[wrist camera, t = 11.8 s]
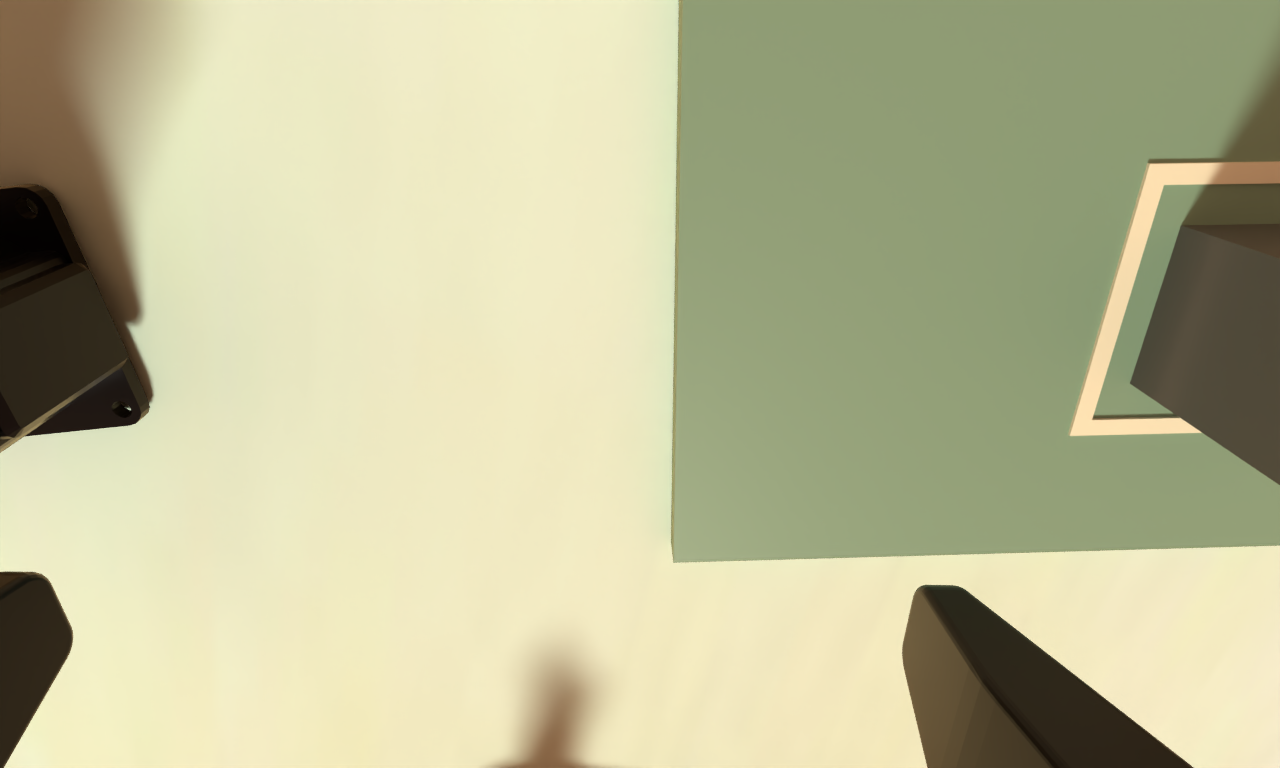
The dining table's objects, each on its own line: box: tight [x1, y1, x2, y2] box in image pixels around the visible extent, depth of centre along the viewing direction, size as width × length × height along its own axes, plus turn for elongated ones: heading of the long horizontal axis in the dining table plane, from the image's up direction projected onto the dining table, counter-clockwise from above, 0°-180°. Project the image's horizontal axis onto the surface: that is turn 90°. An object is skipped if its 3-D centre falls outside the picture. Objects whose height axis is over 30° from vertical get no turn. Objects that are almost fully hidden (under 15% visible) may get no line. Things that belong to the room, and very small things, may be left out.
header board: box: [671, 0, 1280, 563], centre depth 19 cm, size 20×16×2 cm
